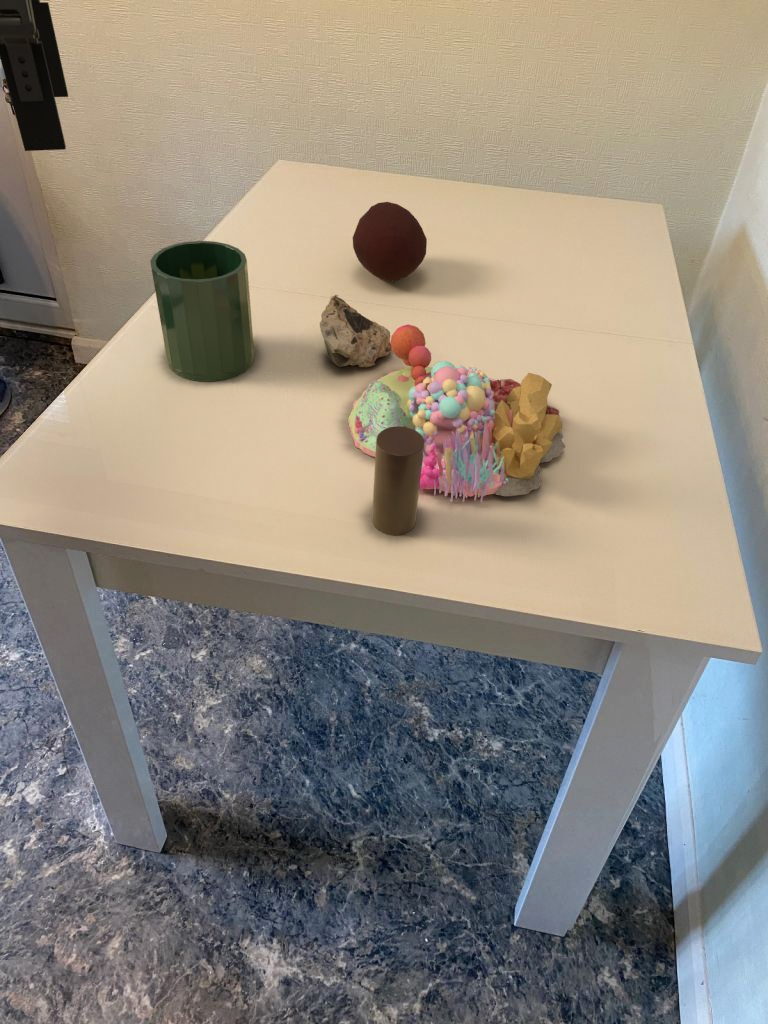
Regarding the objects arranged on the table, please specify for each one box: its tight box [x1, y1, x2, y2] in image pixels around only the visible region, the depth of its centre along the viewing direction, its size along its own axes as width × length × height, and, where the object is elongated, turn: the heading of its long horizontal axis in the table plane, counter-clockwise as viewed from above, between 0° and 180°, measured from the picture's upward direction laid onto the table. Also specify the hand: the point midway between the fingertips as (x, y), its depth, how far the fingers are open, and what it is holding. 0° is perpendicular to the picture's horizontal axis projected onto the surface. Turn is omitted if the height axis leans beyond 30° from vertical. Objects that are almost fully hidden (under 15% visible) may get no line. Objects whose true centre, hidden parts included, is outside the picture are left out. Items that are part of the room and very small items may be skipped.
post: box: [371, 426, 424, 536], centre depth 70 cm, size 4×4×10 cm
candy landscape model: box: [347, 324, 566, 503], centre depth 82 cm, size 25×24×9 cm
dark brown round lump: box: [352, 201, 428, 282], centre depth 110 cm, size 11×13×10 cm
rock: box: [319, 294, 392, 368], centre depth 94 cm, size 9×7×10 cm
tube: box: [149, 240, 255, 382], centre depth 89 cm, size 11×11×13 cm
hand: (48, 120), depth 57 cm, fingers open, 13 cm apart
